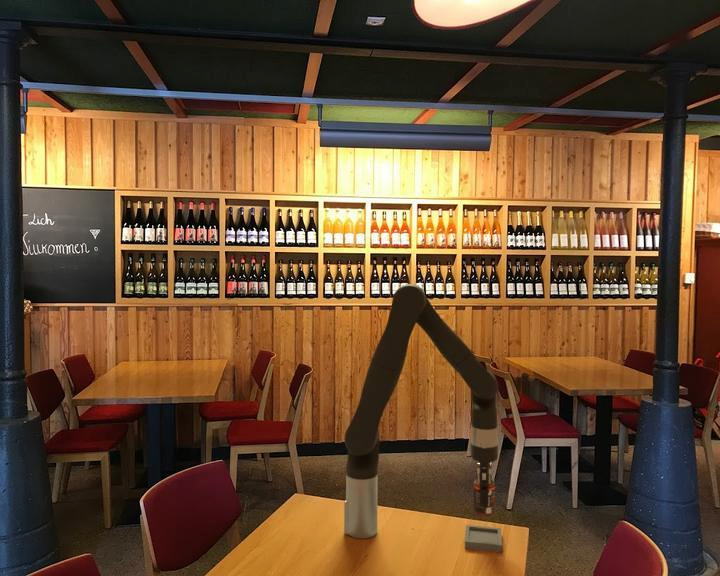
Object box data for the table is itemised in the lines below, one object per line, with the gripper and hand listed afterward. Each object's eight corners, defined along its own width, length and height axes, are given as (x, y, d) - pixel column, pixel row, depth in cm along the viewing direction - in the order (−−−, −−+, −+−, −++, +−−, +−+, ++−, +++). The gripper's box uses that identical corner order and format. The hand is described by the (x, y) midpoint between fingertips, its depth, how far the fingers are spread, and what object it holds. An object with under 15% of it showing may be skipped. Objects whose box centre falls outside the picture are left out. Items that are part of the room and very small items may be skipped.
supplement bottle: (495, 518, 154) (495, 478, 153) (473, 516, 155) (473, 476, 154) (494, 509, 160) (494, 470, 159) (473, 507, 161) (473, 469, 160)
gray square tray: (464, 548, 154) (464, 541, 154) (466, 531, 164) (466, 524, 163) (501, 552, 152) (502, 545, 152) (500, 535, 161) (501, 528, 161)
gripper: (471, 433, 164) (471, 489, 165) (470, 449, 150) (469, 510, 151) (497, 435, 162) (497, 491, 163) (498, 451, 148) (498, 512, 149)
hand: (484, 500), depth 157 cm, fingers closed on supplement bottle, 6 cm apart
